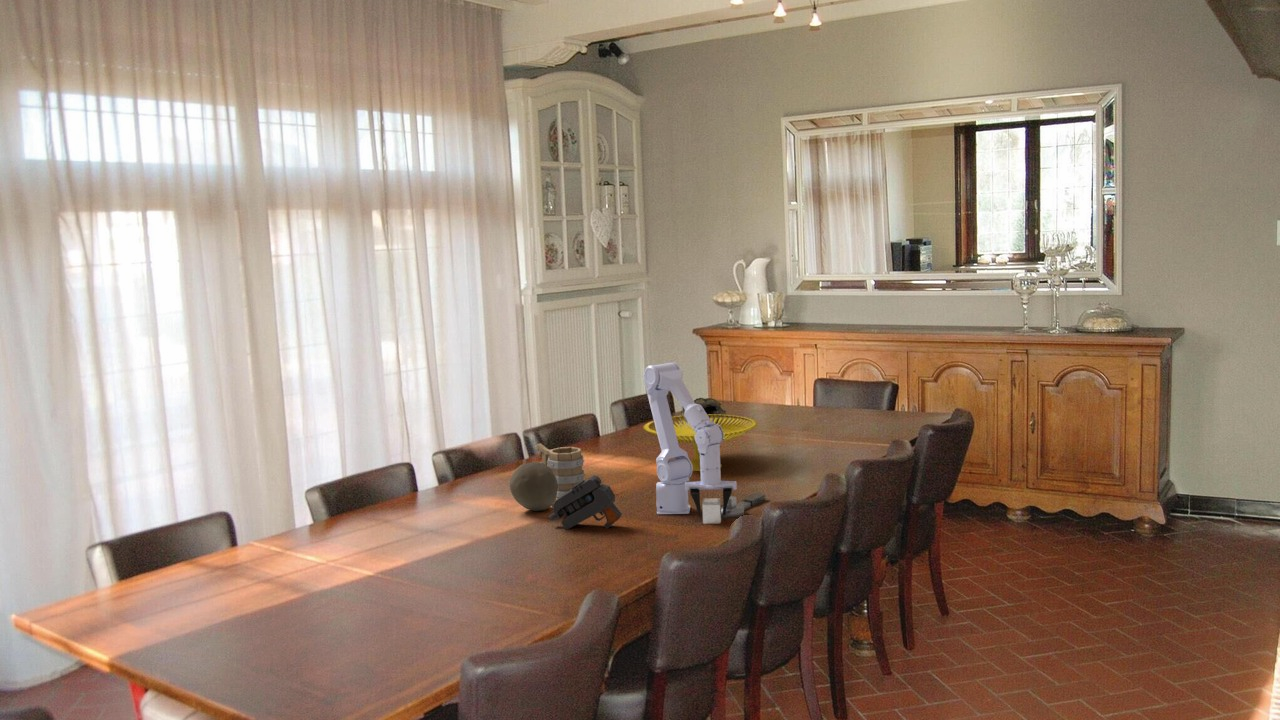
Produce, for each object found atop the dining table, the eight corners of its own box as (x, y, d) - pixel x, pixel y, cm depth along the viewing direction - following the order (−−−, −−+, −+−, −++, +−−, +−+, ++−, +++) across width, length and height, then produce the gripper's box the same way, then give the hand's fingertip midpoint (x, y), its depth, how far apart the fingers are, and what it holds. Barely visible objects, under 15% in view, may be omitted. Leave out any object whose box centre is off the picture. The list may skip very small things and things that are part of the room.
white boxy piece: (703, 523, 292) (702, 503, 291) (703, 518, 297) (703, 498, 296) (720, 523, 292) (720, 502, 291) (721, 518, 297) (720, 498, 296)
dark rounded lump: (718, 435, 437) (697, 408, 442) (737, 416, 430) (715, 389, 436) (681, 446, 415) (659, 418, 420) (700, 426, 408) (677, 397, 413)
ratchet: (735, 519, 295) (734, 502, 295) (711, 515, 300) (710, 499, 299) (772, 501, 313) (771, 485, 312) (749, 498, 318) (748, 482, 317)
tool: (623, 520, 289) (595, 474, 289) (567, 552, 293) (539, 507, 293) (627, 514, 295) (600, 469, 294) (573, 545, 299) (546, 501, 299)
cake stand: (701, 486, 334) (699, 441, 332) (621, 468, 364) (619, 426, 362) (783, 464, 360) (782, 421, 358) (702, 448, 390) (700, 409, 388)
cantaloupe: (539, 502, 323) (536, 455, 321) (568, 509, 313) (565, 461, 311) (502, 512, 313) (499, 464, 311) (531, 520, 303) (529, 470, 301)
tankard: (594, 491, 334) (592, 445, 332) (566, 499, 325) (563, 453, 323) (553, 482, 348) (551, 439, 346) (524, 490, 339) (522, 445, 337)
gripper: (683, 471, 289) (685, 518, 291) (735, 470, 288) (737, 517, 289) (685, 465, 296) (687, 511, 298) (736, 464, 295) (737, 510, 296)
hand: (711, 514), depth 294 cm, fingers open, 6 cm apart
